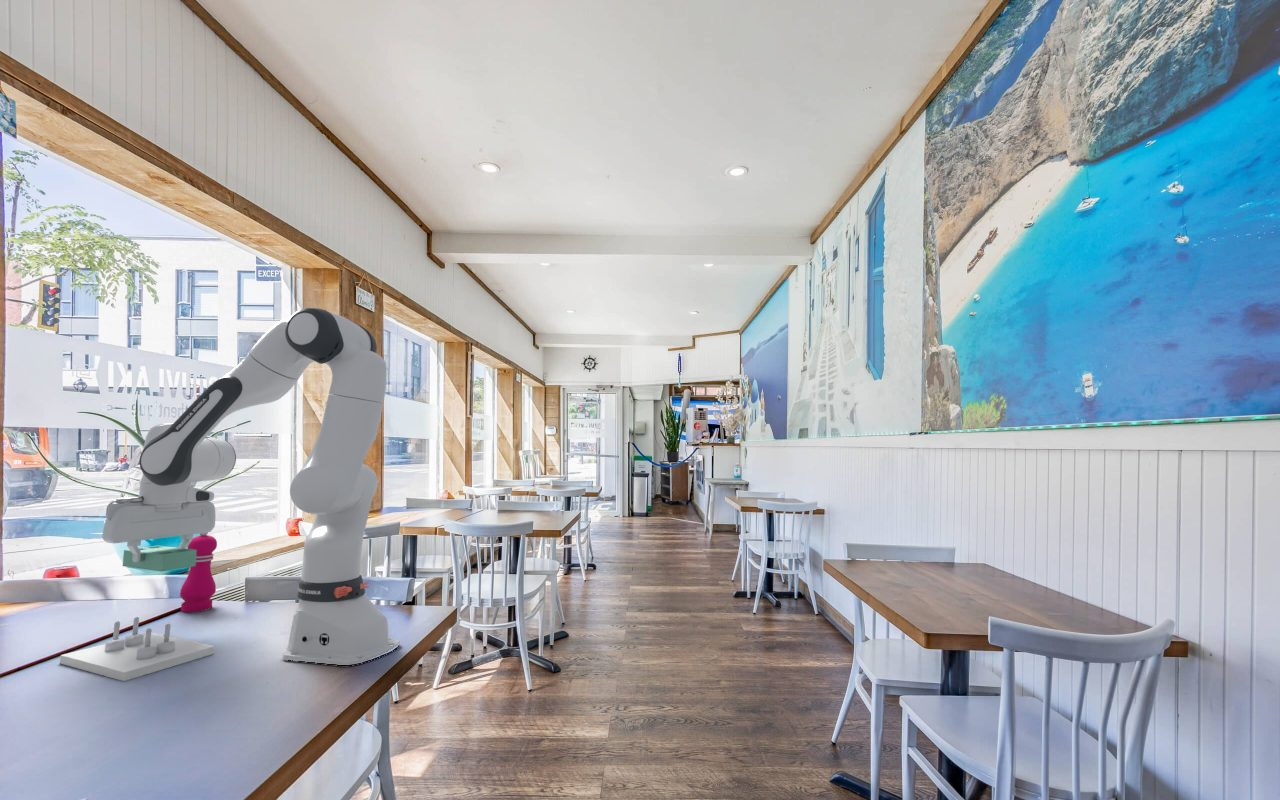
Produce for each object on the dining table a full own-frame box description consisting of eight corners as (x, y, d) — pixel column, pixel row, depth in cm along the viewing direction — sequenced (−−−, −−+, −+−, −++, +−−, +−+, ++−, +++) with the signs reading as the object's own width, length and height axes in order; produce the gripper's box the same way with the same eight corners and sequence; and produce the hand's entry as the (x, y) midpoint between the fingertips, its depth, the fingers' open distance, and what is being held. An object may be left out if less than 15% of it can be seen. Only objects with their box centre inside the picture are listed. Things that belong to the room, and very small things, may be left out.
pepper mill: (194, 614, 140) (202, 531, 141) (170, 611, 141) (178, 530, 143) (221, 606, 147) (228, 528, 149) (198, 604, 148) (205, 526, 150)
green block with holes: (195, 566, 126) (196, 549, 126) (161, 571, 120) (163, 554, 120) (156, 561, 131) (157, 545, 131) (122, 566, 125) (124, 550, 125)
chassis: (213, 653, 114) (216, 618, 114) (123, 681, 100) (128, 641, 100) (151, 639, 121) (154, 606, 122) (59, 663, 107) (64, 626, 108)
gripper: (116, 499, 116) (110, 568, 115) (221, 492, 135) (217, 552, 134) (98, 498, 118) (92, 565, 117) (204, 492, 137) (200, 550, 136)
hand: (159, 558), depth 125 cm, fingers closed on green block with holes, 6 cm apart
